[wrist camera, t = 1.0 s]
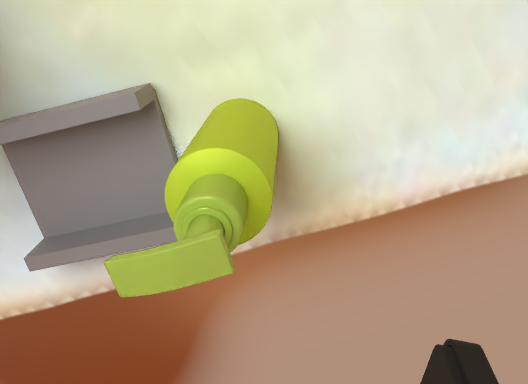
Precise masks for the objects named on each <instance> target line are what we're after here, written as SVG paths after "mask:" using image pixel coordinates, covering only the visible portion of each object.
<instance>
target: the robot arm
mask: <svg viewBox="0 0 528 384" xmlns="http://www.w3.org/2000/svg"><path fill="white" fill-rule="evenodd" d="M420 384H499V383H498V381H497V379H496V377H495V375H494V373H493V371H492V368H491V366H490V364H489V362H488V360H487V358H486V356H485V353H484V351H483V349H482V348H481V346H480V345H478V344H474V343H469V342H463V341H459V340H453V339H447V340H446V341H445V343H444V345H439V344H438V345H436V346H435V347H434V349H433V352H432V354H431V357H430V360H429V362H428V365H427V368H426V370H425V373H424V375H423V378H422V381H421V383H420Z"/></svg>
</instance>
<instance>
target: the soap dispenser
mask: <svg viewBox="0 0 528 384" xmlns="http://www.w3.org/2000/svg"><path fill="white" fill-rule="evenodd" d="M278 139H279V134H278V127H277V124H276V122H275V120H274V118H273V116H272V115H271V113H270V112H269V111H268V110H267V109H266V108H265V107H263V106H262V105H260V104H259V103H257V102H255V101H252V100H248V99H232V100H229V101H226V102H224V103H222V104H220V105H219V106H217V107H216V108H215V109H214V110H213V111H212V112H211V114H210V115H209V116H208V118H207V119H206V121H205V122H204V124H203V125H202V127H201V128H200V130H199V131H198V132H197V134H196V135H195V137H194V138H193V140H192V141H191V143H190V144H189V146H188V147H187V149H186V150H185V151H184V153H183V154H182V156H181V157H180V159H179V160H178V162H177V163H176V165H175V166H174V168H173V169H172V171H171V172H170V174H169V176H168V179H167V182H166V186H165V204H166V208H167V211H168V214H169V216H170V218H171V220H172V221H173V228H174V233H175V236H176V238H177V240H178V241H176V242H172V243H169V244H165V245H162V246H158V247H154V248H150V249H146V250H142V251H137V252H132V253H127V254H120V255H115V256H113V257H111V258H109V259H108V260H106V261H104V264H105V266H106V269H107V271H108V273H109V275H110V277H111V279H112V281H113V283H114V285H115V287H116V289H117V292H118V293H119V295H120V296H121V297H132V296H142V295H149V294H156V293H161V292H166V291H171V290H175V289H179V288H183V287H187V286H190V285H194V284H198V283H201V282H204V281H208V280H212V279H215V278H219V277H222V276H225V275H229V274H232V273H233V272H234V267H235V266H234V263H233V260H232V258H231V255H230V252H231V251H233V250H234V249H235V248H236V246H237V245H240V244H242V243H245V242H247V241H248V240H250V239H252V238H253V237H254V236H256V235H257V234H258V233H259V232H260V231H261V230H262V228H263V227H264V226H265V224H266V222H267V220H268V218H269V215H270V212H271V208H272V199H273V189H274V179H275V169H276V159H277V149H278Z"/></svg>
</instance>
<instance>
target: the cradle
mask: <svg viewBox="0 0 528 384" xmlns="http://www.w3.org/2000/svg"><path fill="white" fill-rule="evenodd" d="M0 144H2V146H3V148H4V151H5V153H6V155H7V157H8V159H9V162H10V164H11V166H12V168H13V170H14V173H15V175H16V177H17V179H18V181H19V184H20V186H21V188H22V190H23V192H24V195H25V197H26V199H27V201H28V203H29V206H30V208H31V210H32V212H33V214H34V217H35V219H36V221H37V223H38V225H39V228H40V230H41V232H42V234H43V236H44V239H43V240H42V241H41V242H40V243H39V244H38V245H37V246H36V247H35V248H34V249H33V250H32V251H31V252H30V253H29V254H28V255H27V256H26V257H25V258H24V260H25V262H26V264H27V266H28V269H29V271H35V270H40V269H45V268H50V267H54V266H59V265H64V264H69V263H74V262H79V261H84V260H88V259H93V258H98V257H103V256H108V255H113V254H118V253H122V252H127V251H132V250H137V249H142V248H147V247H151V246H156V245H161V244H166V243H171V242H176V241H178V240H177V238H176V236H175V233H174V228H173V221H172V220H171V218H170V216H169V214H168V211H167V208H166V204H165V186H166V182H167V179H168V176H169V174H170V172H171V171H172V169H173V168H174V166H175V165H176V163H177V162H178V159H177V156H176V153H175V150H174V147H173V144H172V141H171V138H170V135H169V132H168V129H167V126H166V123H165V120H164V117H163V114H162V111H161V108H160V105H159V102H158V98H157V95H156V92H155V89H154V90H152V87H151V84H150V83H148V84H144V85H140V86H136V87H132V88H128V89H124V90H120V91H116V92H112V93H109V94H105V95H101V96H97V97H93V98H89V99H85V100H81V101H77V102H73V103H69V104H65V105H61V106H58V107H54V108H50V109H46V110H42V111H38V112H34V113H30V114H26V115H22V116H18V117H14V118H11V119H7V120H3V121H0Z"/></svg>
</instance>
